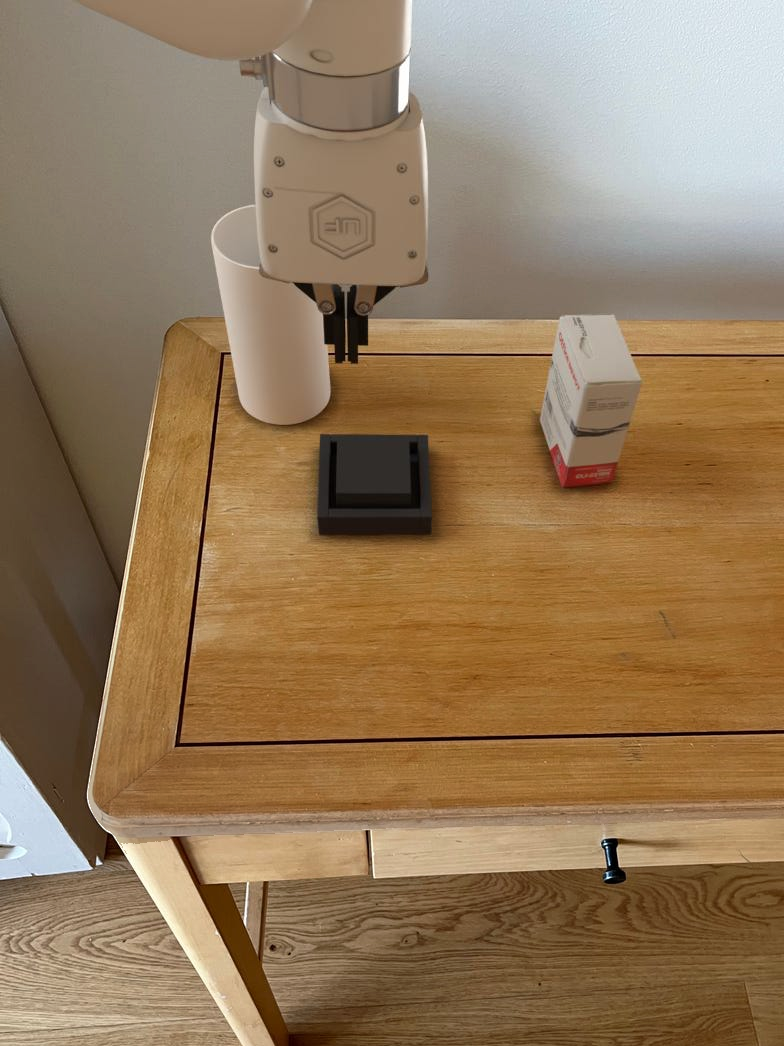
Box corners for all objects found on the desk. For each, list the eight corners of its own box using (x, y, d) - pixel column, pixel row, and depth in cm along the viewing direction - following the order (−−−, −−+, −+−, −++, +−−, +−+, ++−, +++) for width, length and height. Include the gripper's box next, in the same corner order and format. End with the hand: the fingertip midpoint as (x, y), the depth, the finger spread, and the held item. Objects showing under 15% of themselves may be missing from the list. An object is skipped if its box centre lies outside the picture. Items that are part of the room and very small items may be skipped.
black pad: (337, 514, 79) (336, 493, 77) (338, 460, 82) (337, 438, 80) (410, 514, 80) (411, 493, 77) (408, 460, 83) (409, 439, 81)
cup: (224, 413, 85) (193, 255, 72) (258, 353, 90) (234, 194, 76) (313, 433, 85) (298, 279, 71) (342, 372, 89) (333, 216, 76)
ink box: (614, 483, 84) (644, 380, 74) (560, 489, 83) (583, 385, 74) (589, 414, 89) (614, 308, 79) (538, 419, 88) (556, 312, 78)
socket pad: (318, 535, 79) (317, 517, 77) (321, 452, 84) (319, 433, 82) (431, 535, 80) (432, 516, 78) (427, 453, 85) (427, 434, 83)
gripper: (190, 106, 49) (233, 384, 64) (482, 123, 50) (456, 390, 66) (203, 33, 53) (240, 311, 68) (473, 51, 55) (450, 318, 70)
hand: (346, 349), depth 67 cm, fingers closed
